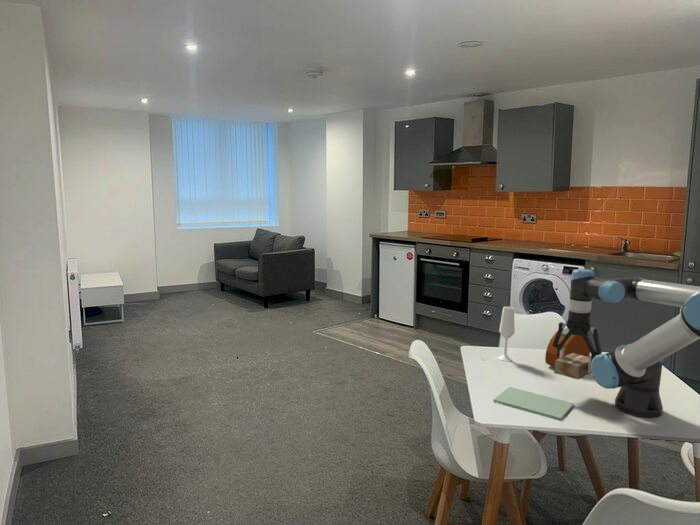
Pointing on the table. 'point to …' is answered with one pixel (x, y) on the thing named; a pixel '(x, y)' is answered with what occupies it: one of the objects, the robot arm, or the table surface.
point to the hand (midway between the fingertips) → (575, 368)
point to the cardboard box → (572, 366)
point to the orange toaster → (566, 347)
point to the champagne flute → (507, 328)
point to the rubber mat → (534, 403)
